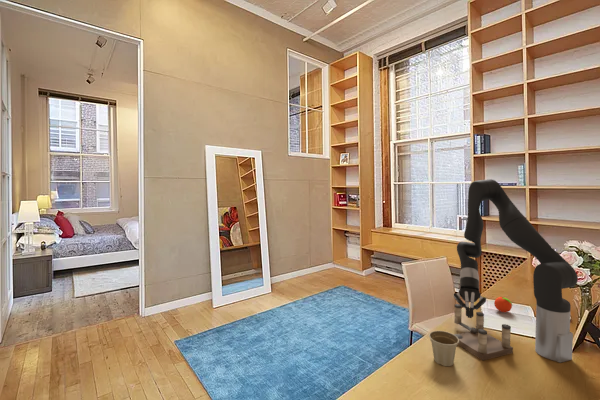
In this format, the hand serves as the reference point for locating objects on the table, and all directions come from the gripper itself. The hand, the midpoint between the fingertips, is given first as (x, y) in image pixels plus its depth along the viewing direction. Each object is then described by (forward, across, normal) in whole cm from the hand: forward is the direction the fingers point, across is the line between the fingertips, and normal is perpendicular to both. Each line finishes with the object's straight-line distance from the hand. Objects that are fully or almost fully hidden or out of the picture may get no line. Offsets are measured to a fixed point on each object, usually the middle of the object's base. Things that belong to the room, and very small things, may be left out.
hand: (469, 317), depth 126 cm
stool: (+13, +3, -6) cm, 15 cm away
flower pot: (+25, -9, -18) cm, 31 cm away
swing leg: (+5, -2, -2) cm, 6 cm away
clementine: (-14, +15, +21) cm, 29 cm away
